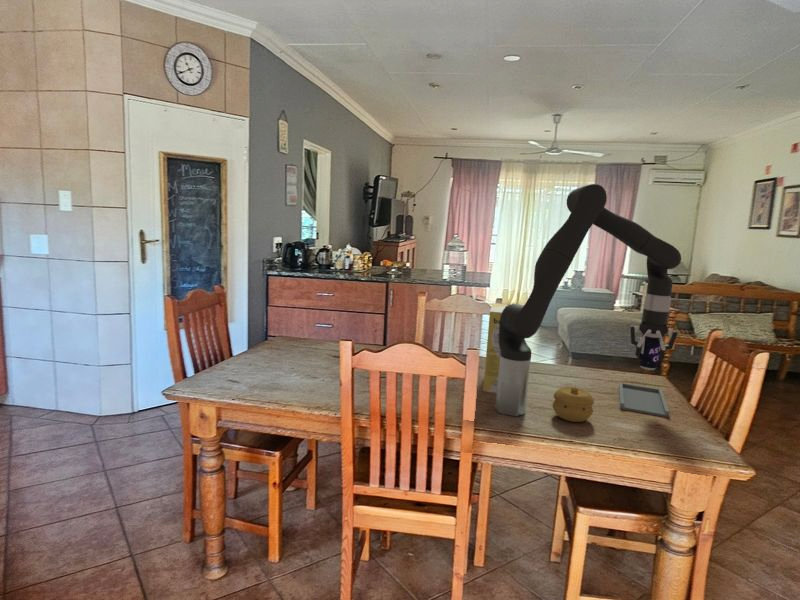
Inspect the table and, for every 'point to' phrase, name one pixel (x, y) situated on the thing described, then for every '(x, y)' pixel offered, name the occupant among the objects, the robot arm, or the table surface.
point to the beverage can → (650, 352)
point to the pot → (573, 404)
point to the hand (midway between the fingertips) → (649, 359)
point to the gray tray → (642, 399)
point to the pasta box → (493, 349)
